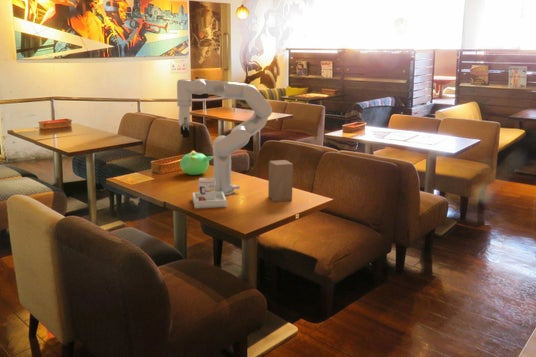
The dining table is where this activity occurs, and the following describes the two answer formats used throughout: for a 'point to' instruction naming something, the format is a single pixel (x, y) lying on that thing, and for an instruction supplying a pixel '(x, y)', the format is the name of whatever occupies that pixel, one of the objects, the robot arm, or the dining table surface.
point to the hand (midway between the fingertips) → (184, 135)
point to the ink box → (207, 189)
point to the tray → (210, 201)
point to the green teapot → (195, 163)
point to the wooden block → (280, 180)
